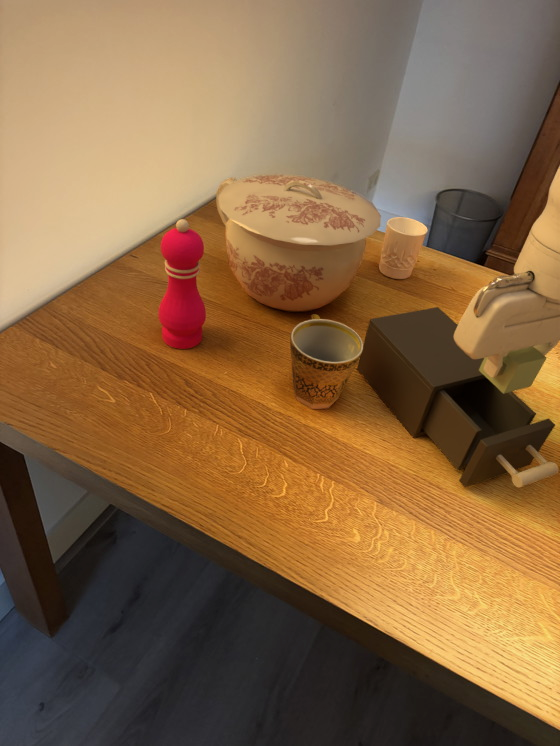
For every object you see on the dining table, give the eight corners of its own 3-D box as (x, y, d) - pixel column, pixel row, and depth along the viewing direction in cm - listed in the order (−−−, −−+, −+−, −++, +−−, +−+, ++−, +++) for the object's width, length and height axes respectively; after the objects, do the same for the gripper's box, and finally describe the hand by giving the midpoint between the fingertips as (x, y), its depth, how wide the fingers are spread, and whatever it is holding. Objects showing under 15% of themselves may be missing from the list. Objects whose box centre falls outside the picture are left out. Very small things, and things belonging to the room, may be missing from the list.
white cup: (410, 285, 108) (425, 239, 102) (372, 274, 110) (384, 228, 103) (415, 267, 114) (429, 223, 108) (379, 258, 116) (391, 213, 109)
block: (505, 363, 69) (519, 335, 66) (530, 386, 66) (547, 357, 63) (478, 370, 67) (491, 341, 64) (503, 393, 64) (518, 364, 61)
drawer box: (482, 418, 80) (507, 368, 74) (413, 438, 76) (433, 387, 69) (420, 354, 91) (437, 306, 85) (356, 368, 86) (370, 318, 80)
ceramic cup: (356, 416, 78) (372, 362, 71) (288, 419, 76) (298, 363, 69) (334, 359, 87) (347, 306, 81) (273, 360, 85) (281, 306, 79)
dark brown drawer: (555, 491, 70) (584, 451, 65) (489, 517, 66) (514, 476, 61) (461, 394, 83) (479, 354, 78) (400, 411, 78) (415, 369, 73)
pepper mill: (192, 356, 84) (194, 237, 71) (150, 342, 85) (145, 223, 72) (212, 332, 89) (218, 216, 76) (173, 319, 90) (171, 204, 77)
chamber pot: (383, 329, 95) (415, 218, 82) (228, 338, 88) (236, 218, 75) (333, 251, 115) (352, 152, 102) (203, 253, 108) (206, 147, 95)
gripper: (509, 296, 51) (460, 403, 59) (649, 271, 59) (587, 369, 67) (466, 263, 55) (426, 368, 64) (602, 244, 63) (550, 339, 72)
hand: (510, 368), depth 66 cm, fingers closed on block, 4 cm apart
